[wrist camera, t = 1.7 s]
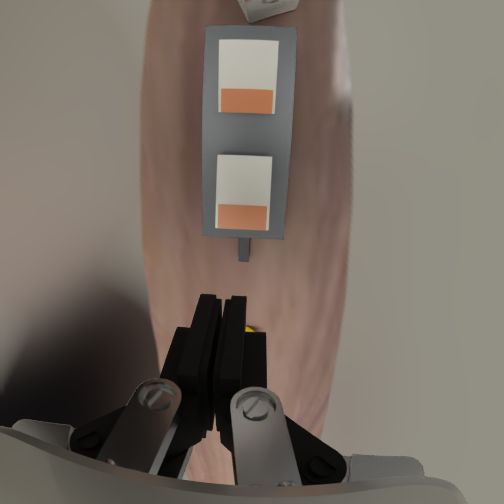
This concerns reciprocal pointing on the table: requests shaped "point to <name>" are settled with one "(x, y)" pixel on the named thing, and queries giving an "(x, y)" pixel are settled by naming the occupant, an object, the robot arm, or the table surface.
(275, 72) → the rocker
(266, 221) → the plate
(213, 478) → the table surface
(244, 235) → the rocker switch panel
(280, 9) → the ink cartridge box
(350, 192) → the table surface
